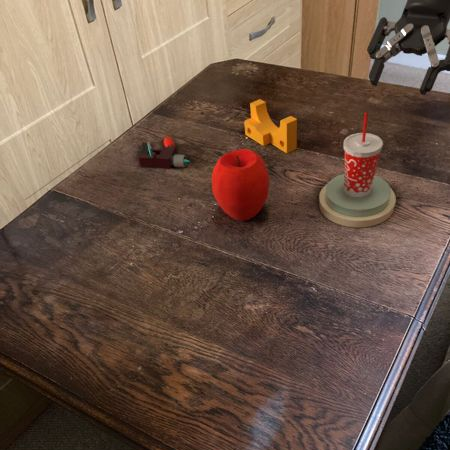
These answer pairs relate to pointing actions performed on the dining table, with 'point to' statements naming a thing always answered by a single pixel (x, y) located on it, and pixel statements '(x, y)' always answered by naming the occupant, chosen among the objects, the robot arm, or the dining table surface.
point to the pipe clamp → (271, 128)
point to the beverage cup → (360, 161)
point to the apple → (240, 183)
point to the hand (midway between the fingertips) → (396, 88)
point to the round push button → (357, 204)
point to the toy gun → (161, 156)
